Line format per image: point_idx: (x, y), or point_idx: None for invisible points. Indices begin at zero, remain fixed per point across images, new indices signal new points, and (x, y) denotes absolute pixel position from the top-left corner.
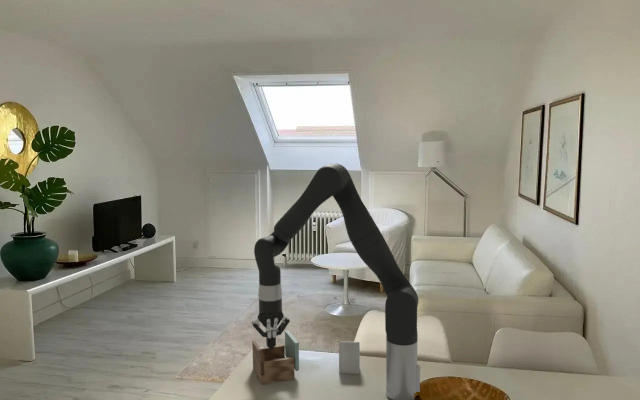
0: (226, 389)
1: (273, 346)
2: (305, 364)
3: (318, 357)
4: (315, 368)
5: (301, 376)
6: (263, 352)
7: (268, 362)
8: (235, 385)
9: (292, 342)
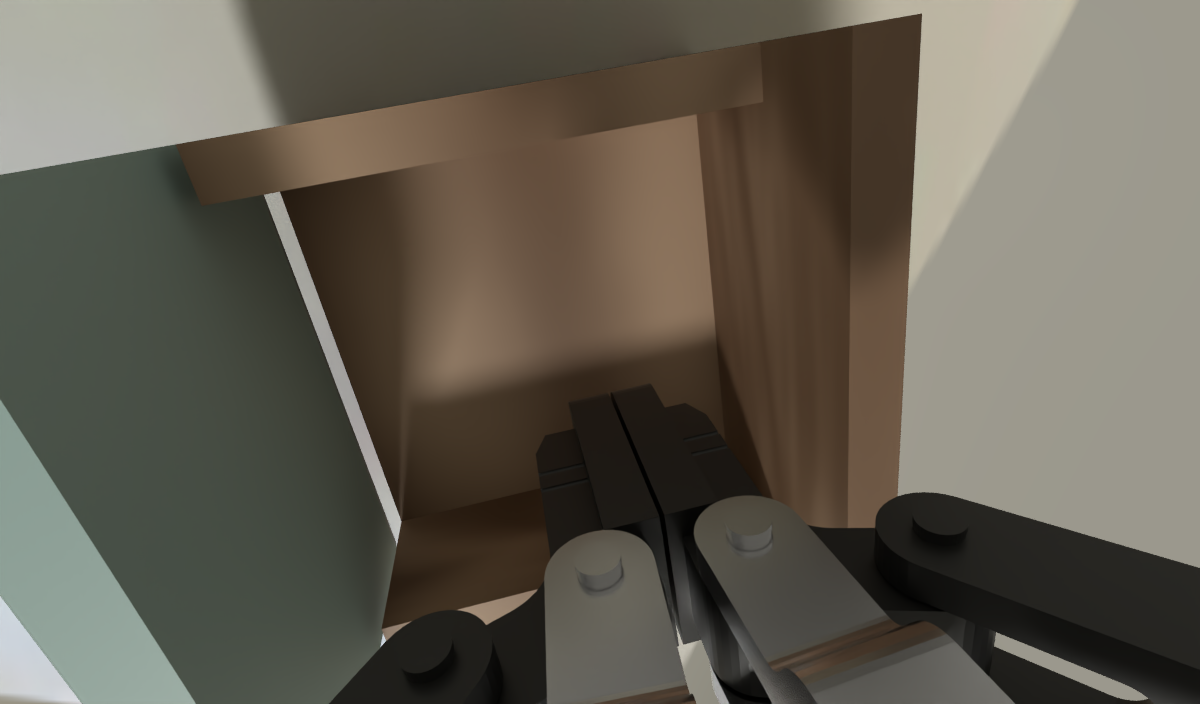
0: (1037, 26)
1: (586, 409)
2: None
3: None
4: None
5: None
6: None
7: (679, 58)
8: (939, 100)
9: (95, 427)
